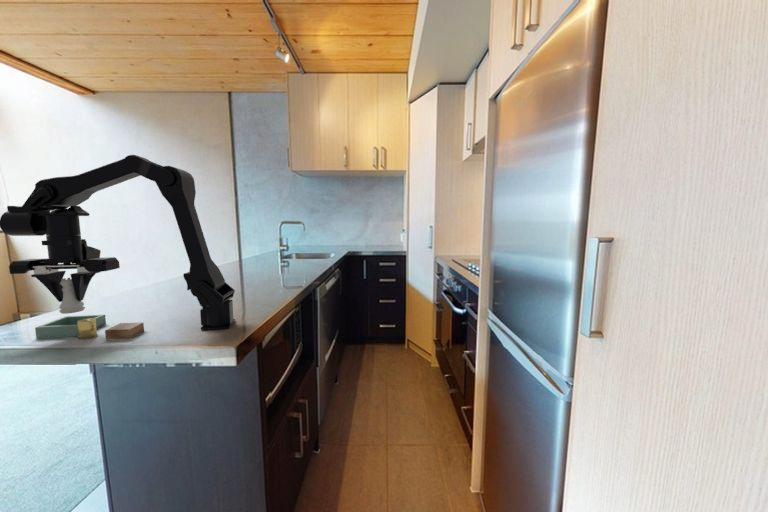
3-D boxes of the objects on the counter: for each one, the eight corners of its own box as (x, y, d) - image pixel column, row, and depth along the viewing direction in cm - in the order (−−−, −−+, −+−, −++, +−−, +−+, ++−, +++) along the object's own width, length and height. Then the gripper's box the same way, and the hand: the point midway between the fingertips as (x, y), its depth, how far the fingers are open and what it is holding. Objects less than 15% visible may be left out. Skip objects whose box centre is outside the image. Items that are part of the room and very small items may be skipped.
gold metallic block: (100, 334, 73) (98, 317, 73) (91, 339, 70) (89, 321, 70) (85, 335, 73) (83, 318, 72) (75, 340, 70) (73, 322, 69)
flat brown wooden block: (144, 332, 76) (143, 322, 75) (130, 340, 71) (129, 329, 70) (121, 333, 75) (120, 323, 75) (105, 341, 70) (105, 330, 70)
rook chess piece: (68, 314, 72) (64, 280, 72) (53, 313, 73) (49, 279, 72) (90, 309, 77) (86, 277, 76) (76, 308, 78) (72, 276, 77)
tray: (106, 324, 81) (105, 314, 80) (80, 335, 72) (79, 325, 72) (66, 325, 79) (65, 316, 79) (36, 338, 70) (35, 327, 70)
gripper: (130, 234, 83) (135, 292, 84) (46, 234, 79) (53, 295, 81) (101, 235, 72) (107, 302, 74) (2, 236, 68) (11, 306, 70)
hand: (71, 301), depth 75 cm, fingers closed on rook chess piece, 3 cm apart
